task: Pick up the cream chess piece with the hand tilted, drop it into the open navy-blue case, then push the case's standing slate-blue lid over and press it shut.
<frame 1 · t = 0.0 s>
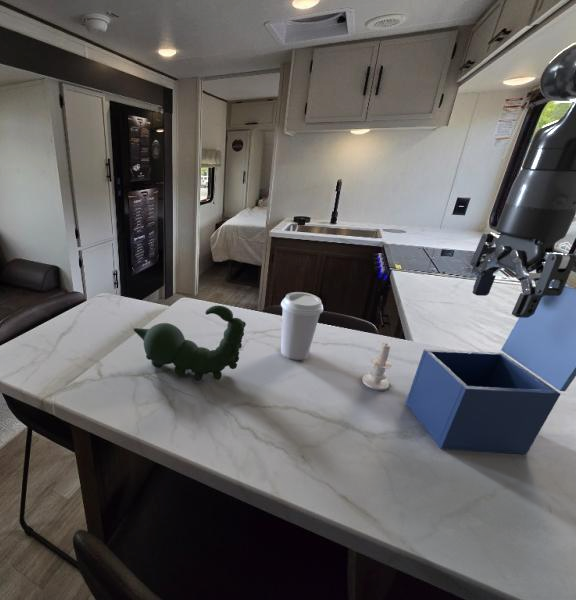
hand: (498, 304, 56), 24 cm above the counter, tool pointing down, fingers open, 8 cm apart
lid: (552, 331, 54), point 20 cm above the counter, hinge at 95.0°
cream chess piece: (375, 383, 75), on the counter
coffee cup: (294, 353, 86), on the counter
toy figurine: (185, 371, 79), on the counter
case: (460, 426, 63), on the counter
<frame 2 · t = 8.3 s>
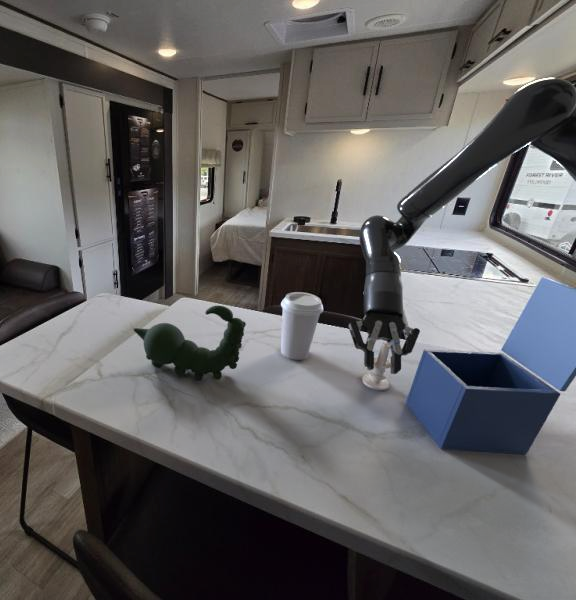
hand: (382, 371, 71), 5 cm above the counter, tool tilted 45°, fingers closed on cream chess piece, 4 cm apart
cream chess piece: (375, 383, 75), on the counter, touching gripper
everything else where it was.
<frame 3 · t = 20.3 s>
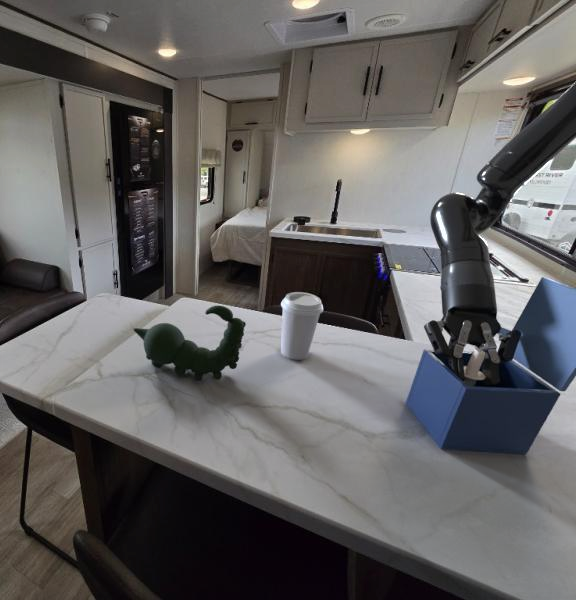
hand: (474, 383, 57), 11 cm above the counter, tool tilted 45°, fingers closed on cream chess piece, 4 cm apart
cream chess piece: (459, 398, 61), point 6 cm above the counter, touching gripper
everything else where it was.
when the fingers open (11 cm above the counter, at t = 20.5 s): cream chess piece drops 6 cm, resting on case.
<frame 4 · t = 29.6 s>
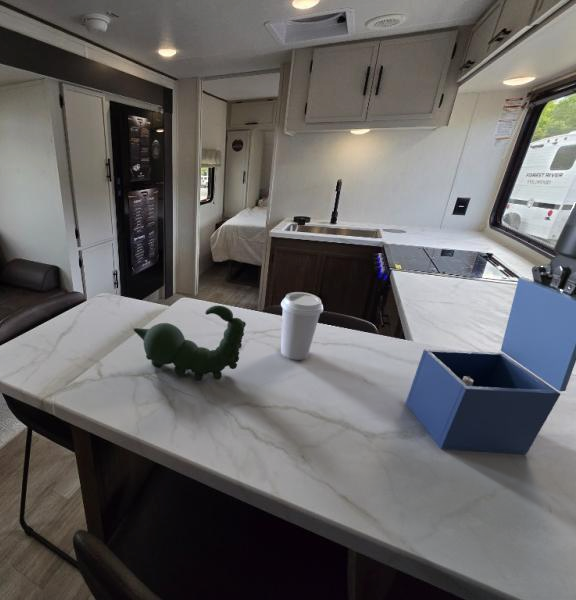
hand: (550, 333, 54), 20 cm above the counter, tool pointing down, fingers closed
lid: (540, 331, 54), point 20 cm above the counter, hinge at 81.0°, touching gripper
cream chess piece: (449, 422, 63), point 1 cm above the counter, touching case
everything else where it was.
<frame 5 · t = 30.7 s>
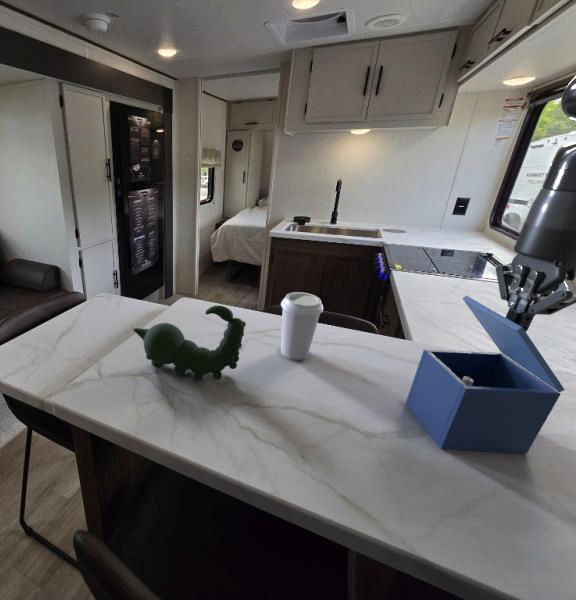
hand: (512, 331, 55), 20 cm above the counter, tool pointing down, fingers closed
lid: (510, 341, 55), point 18 cm above the counter, hinge at 46.3°, touching gripper
everything else where it was.
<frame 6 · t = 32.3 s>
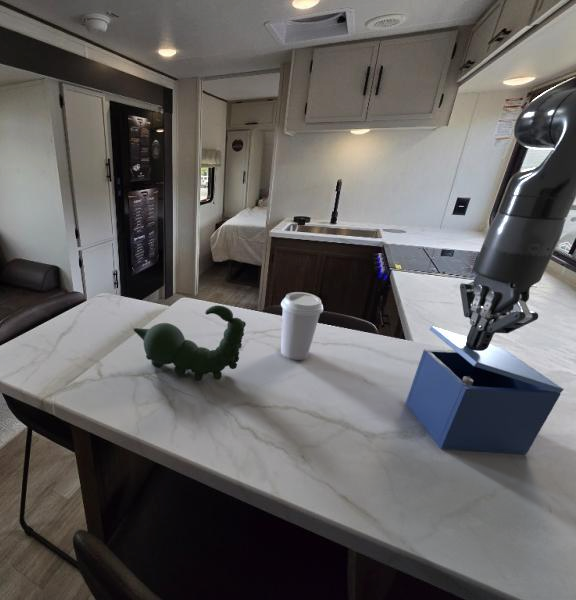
hand: (474, 348, 56), 17 cm above the counter, tool pointing down, fingers closed
lid: (490, 356, 57), point 15 cm above the counter, hinge at 16.8°
everything else where it was.
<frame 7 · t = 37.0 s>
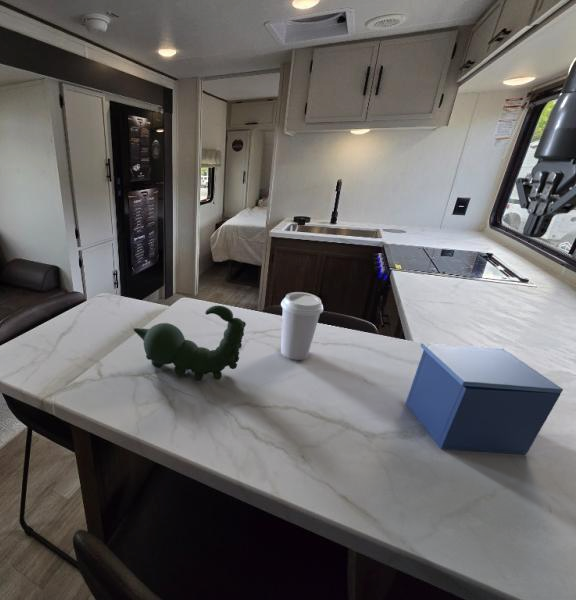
hand: (531, 236, 60), 33 cm above the counter, tool pointing down, fingers closed
lid: (484, 365, 58), point 14 cm above the counter, hinge at 2.0°
everything else where it was.
at the end: cream chess piece inside the target area in the case (1.9 cm from its centre), point 0.6 cm above the case's base; lid at +2° (first picture: +95°) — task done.
